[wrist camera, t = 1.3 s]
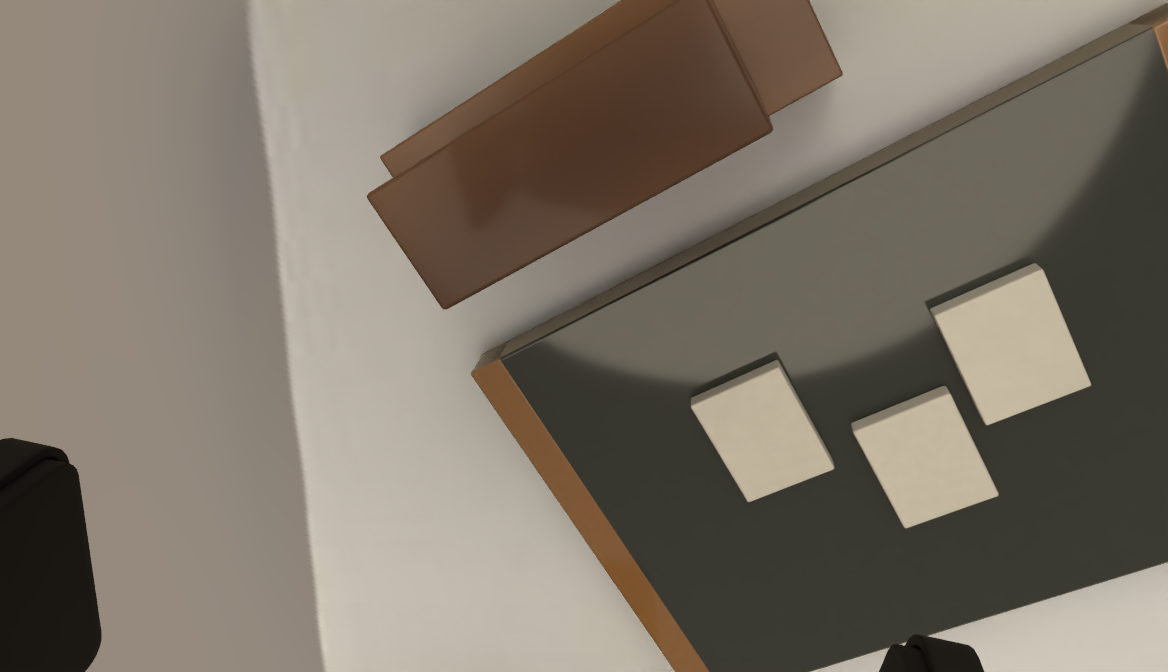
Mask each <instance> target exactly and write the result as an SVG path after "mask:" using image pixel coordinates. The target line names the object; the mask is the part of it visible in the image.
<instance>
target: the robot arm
mask: <svg viewBox="0 0 1168 672" xmlns="http://www.w3.org/2000/svg"><path fill="white" fill-rule="evenodd" d="M100 643H101V626H100V620H99V612H98V606H97V599H96V592H95V585H94V578H93V571H92V564H91V557H90V550H89V543H88V536H87V531H86V523H85V516H84V509H83V502H82V495H81V488H80V482H79V475H78V472H77V469H76V468H75V467H74V466H73V465H71V464H70V463H69V460H68V457H67V455H66V454H65V453H64V452H63V451H62V450H61V449H58V448H55V447H51V446H46V445H42V444H37V443H33V442H28V441H23V440H18V439H14V438H8V439H2V440H0V672H85V671H86V670H87V669H88V667H89V666H90V664H91V663H92V662H93V660H94V658H95V656H96V655H97V652H98V650H99V647H100ZM879 672H984V670H983V667H982V665H981V662H980V660H979V657H978V656H977V654H976V652H975V650H974V649H973V648H972V647H970V646H969V645H965V644H960V643H956V642H951V641H946V640H942V639H937V638H932V637H928V636H923V635H916V634H914V635H913V636H911V637H910V638H909V639H908V641H907V643H906V645H905V646H903V645H899V644H893V645H892V646H891V647H890V648H889V650H888V652H887V654H886V656H885V659H884V661H883V664H882V666H881V668H880V671H879Z"/></svg>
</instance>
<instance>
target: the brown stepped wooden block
mask: <svg viewBox="0 0 1168 672" xmlns="http://www.w3.org/2000/svg"><path fill="white" fill-rule="evenodd" d="M842 75H843V74H842V70H841V68H840V66H839V64H838V62H837V60H836V58H835V55H834V53H833V51H832V49H831V47H830V45H829V43H828V40H827V38H826V36H825V34H824V32H823V30H822V28H821V25H820V23H819V21H818V19H817V17H816V15H815V12H814V10H813V8H812V6H811V4H810V2H809V0H622V1H620V2H618V3H617V4H615V5H614V6H612V7H611V8H609V9H608V10H606V11H605V12H603V13H601V14H600V15H598V16H597V17H595V18H594V19H592V20H591V21H589V22H587V23H586V24H584V25H583V26H581V27H580V28H578V29H577V30H575V31H573V32H572V33H570V34H569V35H567V36H566V37H564V38H563V39H561V40H560V41H558V42H556V43H555V44H553V45H552V46H550V47H549V48H547V49H546V50H544V51H542V52H541V53H539V54H538V55H536V56H535V57H533V58H532V59H530V60H529V61H527V62H525V63H524V64H522V65H521V66H519V67H518V68H516V69H515V70H513V71H511V72H510V73H508V74H507V75H505V76H504V77H502V78H501V79H499V80H498V81H496V82H494V83H493V84H491V85H490V86H488V87H487V88H485V89H484V90H482V91H480V92H479V93H477V94H476V95H474V96H473V97H471V98H470V99H468V100H467V101H465V102H463V103H462V104H460V105H459V106H457V107H456V108H454V109H453V110H451V111H449V112H448V113H446V114H445V115H443V116H442V117H440V118H439V119H437V120H436V121H434V122H432V123H431V124H429V125H428V126H426V127H425V128H423V129H422V130H420V131H418V132H417V133H415V134H414V135H412V136H411V137H409V138H408V139H406V140H404V141H403V142H401V143H400V144H398V145H397V146H395V147H394V148H392V149H391V150H389V151H387V152H386V153H384V154H383V155H381V157H380V158H381V160H382V162H383V163H384V165H385V166H386V168H387V169H388V171H389V172H390V174H391V175H392V177H393V178H392V179H390V180H389V181H387V182H386V183H384V184H382V185H381V186H379V187H378V188H376V189H374V190H373V191H371V192H370V193H368V195H367V198H368V200H369V202H370V203H371V205H372V206H373V207H374V209H375V210H376V212H377V213H378V215H379V216H380V218H381V219H382V221H383V222H384V224H385V225H386V227H387V228H388V229H389V231H390V232H391V234H392V235H393V237H394V238H395V240H396V241H397V243H398V244H399V246H400V247H401V249H402V250H403V252H404V253H405V254H406V256H407V257H408V259H409V260H410V262H411V263H412V265H413V266H414V268H415V269H416V271H417V272H418V274H419V275H420V276H421V278H422V279H423V281H424V282H425V284H426V285H427V287H428V288H429V290H430V291H431V293H432V294H433V296H434V297H435V298H436V300H437V301H438V303H439V304H440V306H441V307H442V308H443V309H448V308H450V307H452V306H454V305H456V304H458V303H459V302H461V301H463V300H465V299H467V298H469V297H470V296H472V295H474V294H476V293H478V292H480V291H481V290H483V289H485V288H487V287H489V286H491V285H492V284H494V283H496V282H498V281H500V280H502V279H503V278H505V277H507V276H509V275H511V274H513V273H514V272H516V271H518V270H520V269H522V268H524V267H525V266H527V265H529V264H531V263H533V262H535V261H536V260H538V259H540V258H542V257H544V256H546V255H547V254H549V253H551V252H553V251H555V250H557V249H558V248H560V247H562V246H564V245H566V244H568V243H569V242H571V241H573V240H575V239H577V238H579V237H580V236H582V235H584V234H586V233H588V232H590V231H591V230H593V229H595V228H597V227H599V226H601V225H602V224H604V223H606V222H608V221H610V220H612V219H613V218H615V217H617V216H619V215H621V214H623V213H624V212H626V211H628V210H630V209H632V208H634V207H635V206H637V205H639V204H641V203H643V202H645V201H646V200H648V199H650V198H652V197H654V196H656V195H657V194H659V193H661V192H663V191H665V190H667V189H668V188H670V187H672V186H674V185H676V184H678V183H679V182H681V181H683V180H685V179H687V178H689V177H690V176H692V175H694V174H696V173H698V172H699V171H701V170H703V169H705V168H707V167H709V166H710V165H712V164H714V163H716V162H718V161H720V160H721V159H723V158H725V157H727V156H729V155H731V154H732V153H734V152H736V151H738V150H740V149H742V148H743V147H745V146H747V145H749V144H751V143H753V142H754V141H756V140H758V139H760V138H762V137H764V136H765V135H767V134H769V133H771V132H772V130H773V126H772V123H771V121H770V118H769V116H770V115H772V114H774V113H775V112H777V111H779V110H781V109H783V108H784V107H786V106H788V105H790V104H792V103H793V102H795V101H797V100H799V99H801V98H802V97H804V96H806V95H808V94H810V93H812V92H813V91H815V90H817V89H819V88H821V87H822V86H824V85H826V84H828V83H830V82H831V81H833V80H835V79H837V78H839V77H840V76H842Z"/></svg>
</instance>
